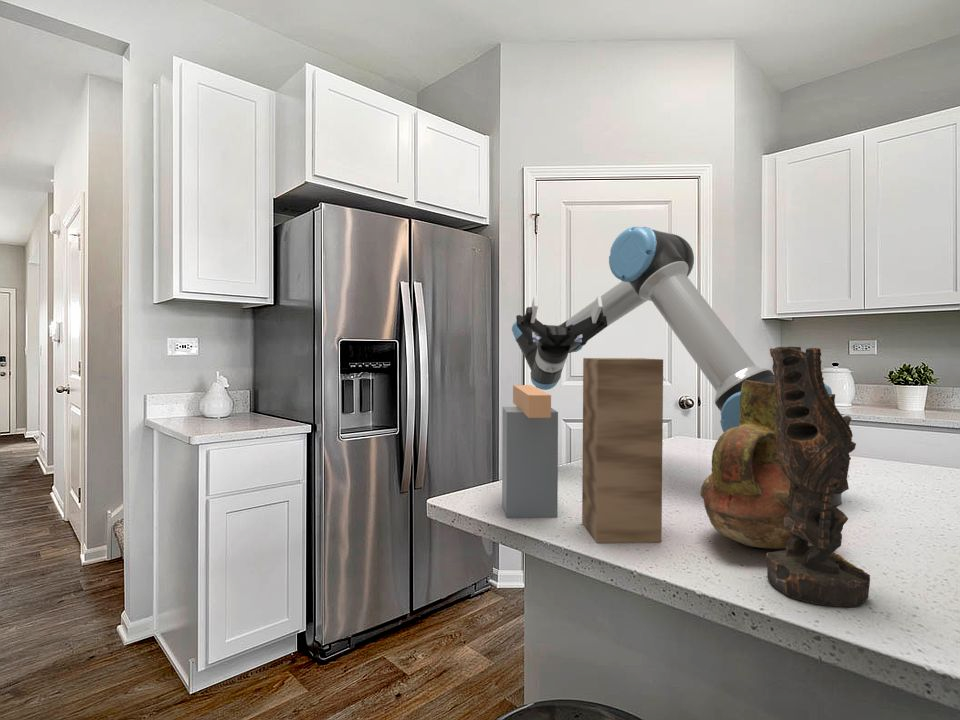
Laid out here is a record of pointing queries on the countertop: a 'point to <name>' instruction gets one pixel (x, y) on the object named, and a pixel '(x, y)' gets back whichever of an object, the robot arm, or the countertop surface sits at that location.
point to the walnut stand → (622, 449)
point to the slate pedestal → (529, 464)
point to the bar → (532, 401)
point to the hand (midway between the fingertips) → (568, 300)
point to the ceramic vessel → (749, 475)
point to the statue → (812, 485)
